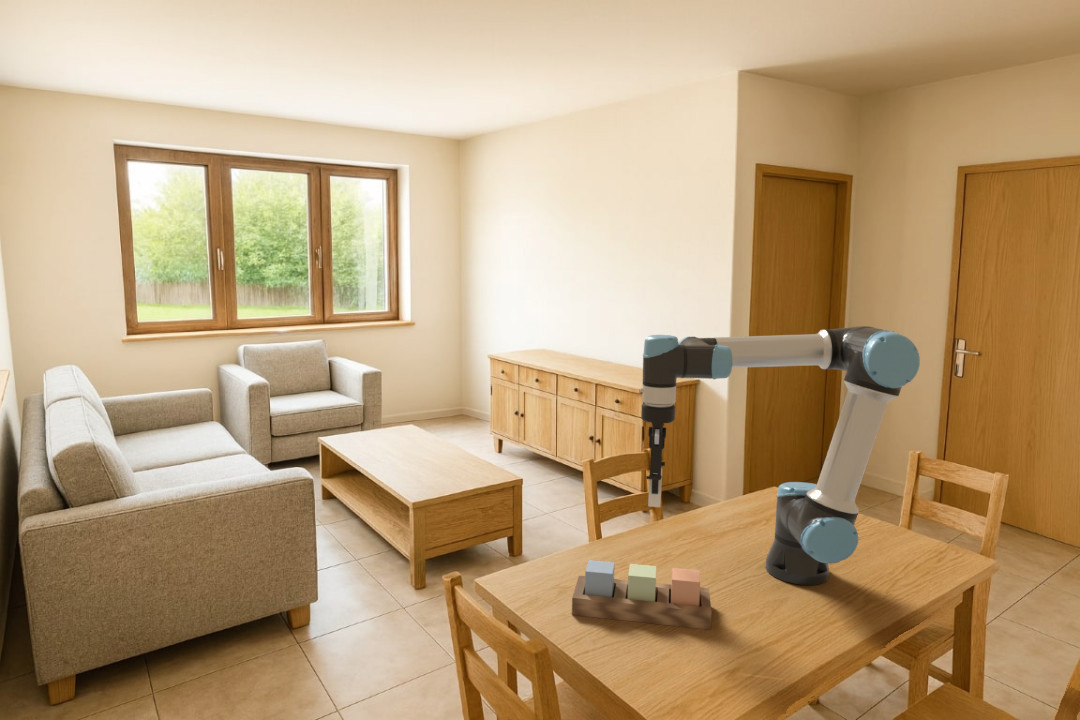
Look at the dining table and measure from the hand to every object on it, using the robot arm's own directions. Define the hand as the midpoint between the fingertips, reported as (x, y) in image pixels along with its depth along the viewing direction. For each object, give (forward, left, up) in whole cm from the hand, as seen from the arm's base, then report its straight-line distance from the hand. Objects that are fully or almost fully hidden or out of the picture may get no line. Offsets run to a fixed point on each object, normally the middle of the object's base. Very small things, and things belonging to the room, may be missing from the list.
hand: (654, 499), depth 161 cm
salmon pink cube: (-7, +8, -21) cm, 24 cm away
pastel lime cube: (+2, +8, -21) cm, 22 cm away
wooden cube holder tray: (+2, +8, -23) cm, 25 cm away
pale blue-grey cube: (+12, +8, -21) cm, 25 cm away
